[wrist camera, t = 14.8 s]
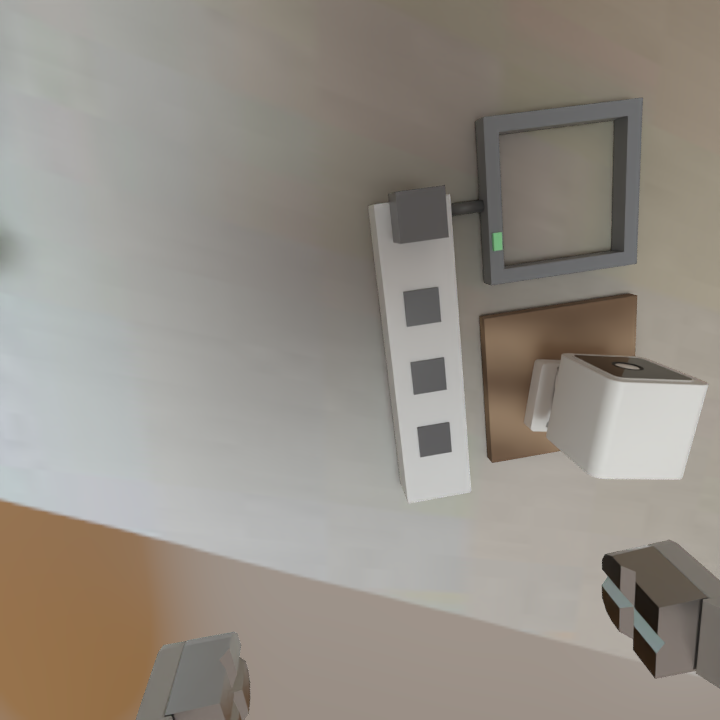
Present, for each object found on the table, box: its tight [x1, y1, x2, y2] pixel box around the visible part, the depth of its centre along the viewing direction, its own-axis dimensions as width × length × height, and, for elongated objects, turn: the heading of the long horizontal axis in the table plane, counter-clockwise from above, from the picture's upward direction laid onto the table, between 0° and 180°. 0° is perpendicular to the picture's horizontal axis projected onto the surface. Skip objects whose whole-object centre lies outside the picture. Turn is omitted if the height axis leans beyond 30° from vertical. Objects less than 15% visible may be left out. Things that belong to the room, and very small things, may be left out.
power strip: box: [368, 185, 484, 503], centre depth 34 cm, size 22×9×5 cm, turn 7°
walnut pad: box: [479, 294, 637, 463], centre depth 38 cm, size 12×12×1 cm
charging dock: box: [475, 98, 643, 285], centre depth 34 cm, size 11×11×2 cm
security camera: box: [524, 353, 709, 479], centre depth 33 cm, size 6×7×10 cm
